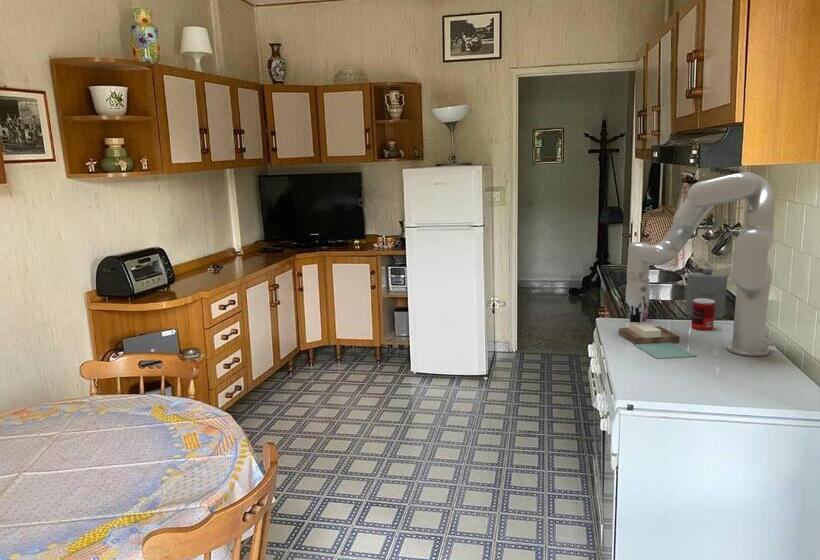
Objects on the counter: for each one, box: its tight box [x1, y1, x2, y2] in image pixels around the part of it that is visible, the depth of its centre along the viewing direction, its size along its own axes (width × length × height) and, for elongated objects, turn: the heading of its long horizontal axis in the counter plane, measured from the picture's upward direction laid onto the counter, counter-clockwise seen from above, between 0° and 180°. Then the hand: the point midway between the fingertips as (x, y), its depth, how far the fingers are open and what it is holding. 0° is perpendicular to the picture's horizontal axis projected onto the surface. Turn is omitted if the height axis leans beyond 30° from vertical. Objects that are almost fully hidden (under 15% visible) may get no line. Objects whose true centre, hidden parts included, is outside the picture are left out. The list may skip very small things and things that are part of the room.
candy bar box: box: [630, 277, 650, 322], centre depth 257 cm, size 11×5×16 cm, turn 150°
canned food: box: [691, 298, 715, 331], centre depth 243 cm, size 8×8×11 cm
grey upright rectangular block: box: [684, 267, 728, 319], centre depth 261 cm, size 15×6×20 cm, turn 70°
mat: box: [633, 343, 697, 360], centre depth 216 cm, size 14×16×1 cm
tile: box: [628, 321, 661, 338], centre depth 229 cm, size 6×12×2 cm, turn 7°
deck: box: [618, 325, 681, 345], centre depth 230 cm, size 16×14×2 cm
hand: (634, 324), depth 236 cm, fingers closed
